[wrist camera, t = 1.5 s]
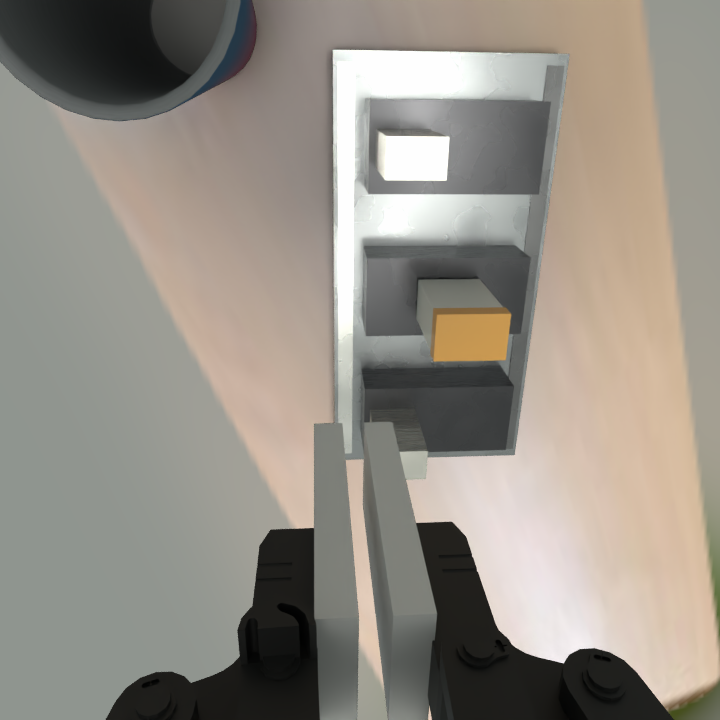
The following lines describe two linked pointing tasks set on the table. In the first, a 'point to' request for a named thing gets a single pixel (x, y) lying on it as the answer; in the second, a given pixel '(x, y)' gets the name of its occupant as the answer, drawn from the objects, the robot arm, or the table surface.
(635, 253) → the table surface
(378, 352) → the panel
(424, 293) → the handle
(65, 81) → the cup
